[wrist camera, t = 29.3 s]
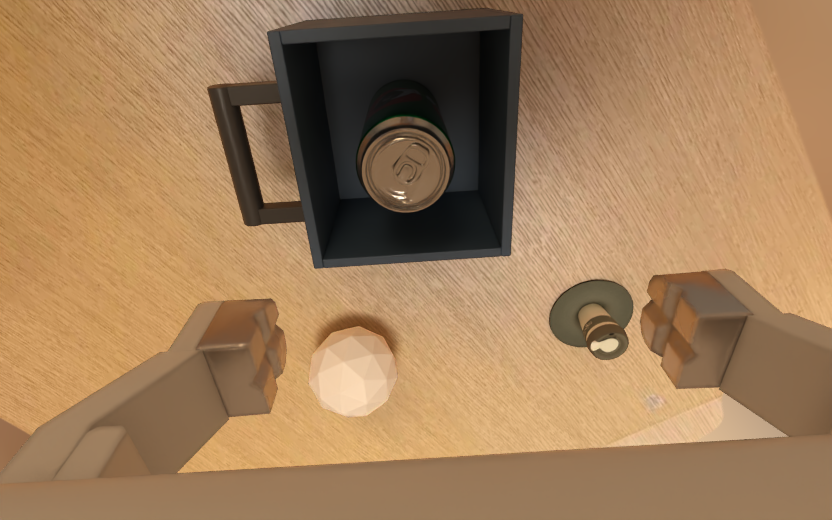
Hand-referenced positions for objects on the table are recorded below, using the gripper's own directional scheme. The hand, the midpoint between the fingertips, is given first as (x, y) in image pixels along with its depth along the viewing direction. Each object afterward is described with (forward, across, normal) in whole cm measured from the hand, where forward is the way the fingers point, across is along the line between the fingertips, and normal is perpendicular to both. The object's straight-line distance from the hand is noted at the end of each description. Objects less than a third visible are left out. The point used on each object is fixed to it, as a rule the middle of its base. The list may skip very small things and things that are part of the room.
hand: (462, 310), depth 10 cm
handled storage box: (+26, +3, +2) cm, 26 cm away
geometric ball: (+26, +7, +23) cm, 35 cm away
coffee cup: (+26, -15, +21) cm, 36 cm away
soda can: (+25, +1, +2) cm, 25 cm away
